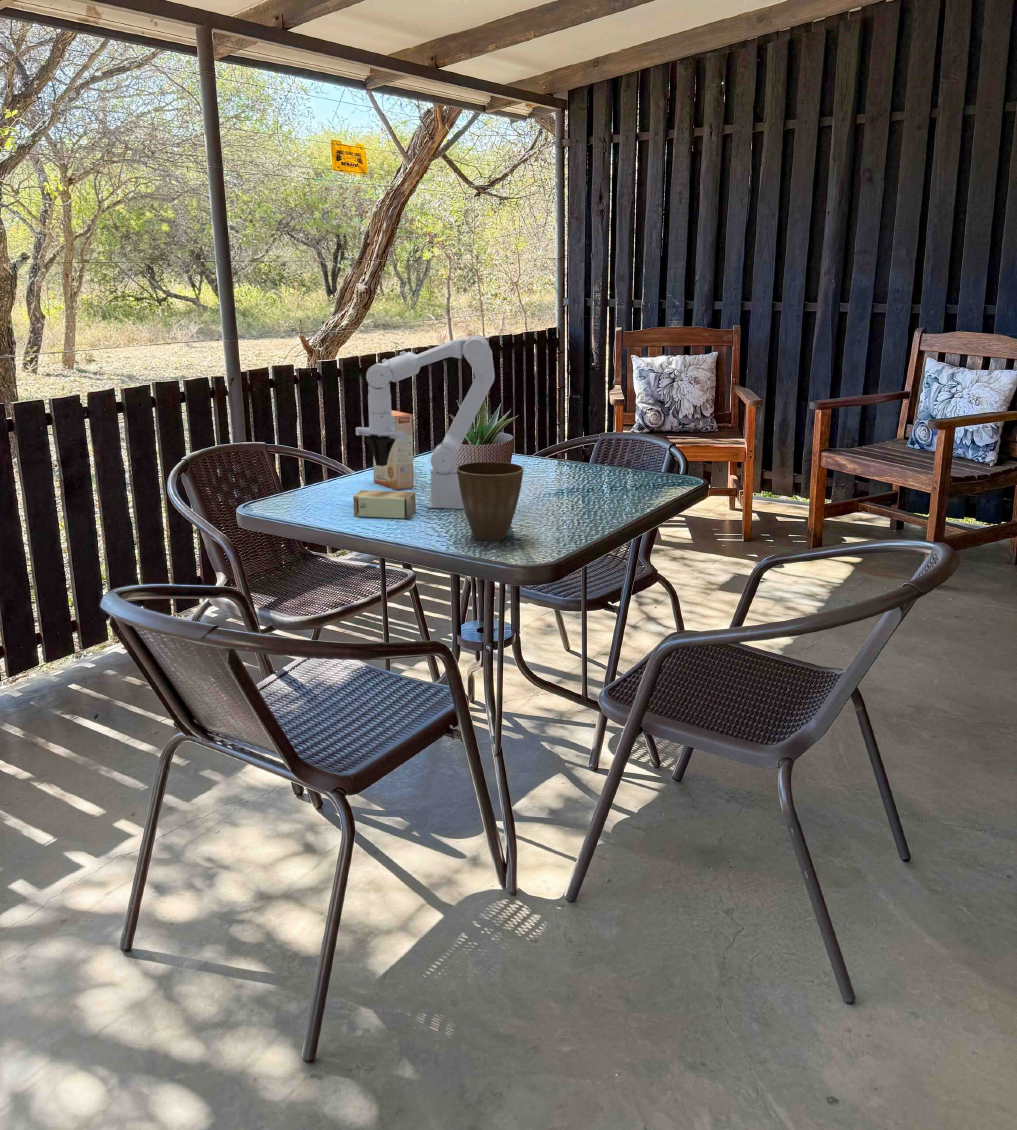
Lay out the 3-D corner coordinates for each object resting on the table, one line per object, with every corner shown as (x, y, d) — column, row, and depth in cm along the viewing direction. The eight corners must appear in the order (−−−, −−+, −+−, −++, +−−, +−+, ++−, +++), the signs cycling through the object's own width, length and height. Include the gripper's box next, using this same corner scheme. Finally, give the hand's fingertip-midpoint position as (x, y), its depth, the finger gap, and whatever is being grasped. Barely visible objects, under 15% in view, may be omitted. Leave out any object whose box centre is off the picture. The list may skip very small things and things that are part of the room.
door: (411, 517, 234) (411, 498, 232) (409, 520, 232) (409, 499, 230) (360, 515, 235) (359, 495, 234) (357, 517, 233) (356, 497, 232)
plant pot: (531, 543, 213) (532, 472, 208) (466, 547, 208) (465, 475, 204) (512, 527, 226) (512, 460, 222) (450, 531, 222) (450, 463, 218)
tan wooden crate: (415, 511, 241) (415, 492, 239) (409, 518, 234) (409, 498, 233) (361, 509, 242) (360, 490, 241) (354, 516, 236) (353, 496, 234)
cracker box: (415, 488, 268) (413, 413, 262) (395, 491, 265) (394, 415, 259) (391, 480, 279) (389, 408, 273) (373, 482, 276) (370, 409, 270)
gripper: (412, 412, 241) (413, 465, 244) (366, 408, 247) (368, 460, 251) (396, 415, 235) (397, 470, 239) (349, 411, 242) (351, 464, 245)
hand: (381, 465), depth 245 cm, fingers closed
